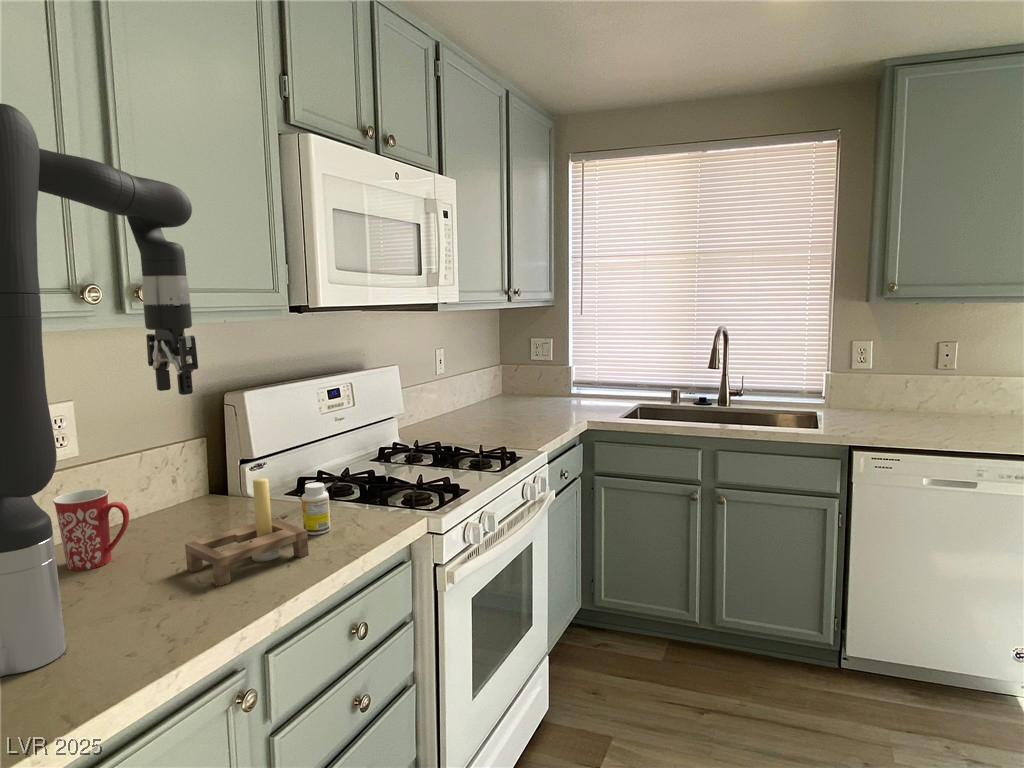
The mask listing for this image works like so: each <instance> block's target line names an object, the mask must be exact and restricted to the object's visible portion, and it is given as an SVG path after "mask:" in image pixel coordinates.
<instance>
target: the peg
mask: <svg viewBox="0 0 1024 768" xmlns="http://www.w3.org/2000/svg"><path fill="white" fill-rule="evenodd" d="M252 487H253V488H252V489H253V490H252V491H253V499H254V500H253V501H254V503H253V504H254V515H255V523H256V532H257V538H258V537H261V536H265V535H268V534H271V533H272V524H271V518H272V513H271V512H272V511H271V499H270V497H271V496H270V484H269V478H263V477H262V478H257V479H253V480H252ZM280 555H281V553H280V547H278V548H275V549H272V550H269V551H266V552H263V553H260V554H257V555H254V556H251V558H252V560H253V562H254V561H255V562H260V561H261V562H270V561H272V560H275V559H278V558H279V557H280Z"/></svg>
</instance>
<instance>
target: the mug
mask: <svg viewBox="0 0 1024 768" xmlns="http://www.w3.org/2000/svg"><path fill="white" fill-rule="evenodd" d="M108 496H109V490H107V489H104V488H94V489H93V488H91V489H82V490H76V491H72V492H69V493H68V492H66V493H63V494H61V495H59V496H57V497H54V499H53V500H52V503H53V504H54V506H55V513H56V516H57V521H58V527H59V531H60V532H59V533H60V538H61V542H62V547H63V553H64V557H65V564H66V568H67V570H69V569H71V570H70V571H73V570H81V571H86V570H85V569H88V570H93V569H96V567H97V568H99V566H100V567H103V566H105V565H106V564H108V563H109V562H111V560H112V551H113V550H114V549H115V547H116V546H117V544H118V543H119V542H120V540H121V539H122V538H123V536H124V534H125V533H126V530H127V528H128V525H129V522H130V513H129V512H130V511H129V509H128V507H127V505H125V504H124V503H123V502H120V501H114V502H110V503H109V500H108V498H109V497H108ZM113 508H117V509H118V510H119V511H120V512H121V514H122V524H121V527H120V530H119V532H118V533H117V535H116V536H115V538H114V539H113V541H111V532H110V530H111V529H110V516H109V515H110V511H111V510H112V509H113ZM104 564H105V565H104ZM92 568H93V569H92Z"/></svg>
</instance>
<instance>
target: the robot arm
mask: <svg viewBox="0 0 1024 768" xmlns="http://www.w3.org/2000/svg"><path fill="white" fill-rule="evenodd" d="M38 141H39V140H38V136H37V134H36V131H35V129H34V127H33V126H32V123H31V122H30V120H29V119H28V118H27V116H26V115H25V114H24V113H23V112H22V111H20V110H19V109H17V108H16V107H15V106H12V105H10V104H6V103H0V677H4V676H7V675H8V676H9V675H15V674H20V673H26V672H29V671H32V670H36V669H38V668H42V667H43V666H46V665H47V664H50V663H52V662H53V661H55V660H57V659H58V658H60V657H61V656H62V655H63V654H64V653H65V651H66V650H67V644H66V633H65V626H64V618H63V608H62V599H61V592H60V591H61V590H60V582H59V575H58V574H59V573H58V566H57V564H58V563H57V559H56V558H57V556H56V549H55V548H56V547H55V541H54V540H55V538H54V530H53V529H54V528H53V522H52V519H51V516H50V515H49V514H48V513H47V512H46V511H45V510H43V509H42V508H41V507H40V506H39V505H38V504H37V503H36V501H35V499H34V498H33V496H35V495H37V494H38V493H39V492H42V491H43V489H45V488H46V487H47V486H48V485H49V483H50V482H51V480H52V478H53V476H54V473H55V470H56V466H57V457H58V456H57V445H56V438H55V434H54V429H53V423H52V418H51V413H50V409H49V408H50V407H49V402H48V395H47V387H46V374H45V371H46V370H45V361H44V360H45V359H44V358H45V357H44V348H43V347H44V346H43V330H42V329H43V328H42V327H43V323H42V321H43V318H42V305H41V304H42V303H41V302H42V301H41V289H40V288H41V287H40V280H39V269H38V268H39V267H38V263H39V262H38V261H39V260H38V259H39V258H38V228H37V227H38V226H37V218H38V217H37V216H38V214H37V213H38V198H39V192H41V193H44V194H49V195H52V196H56V197H60V198H63V199H66V200H70V201H72V202H73V201H74V202H75V203H79V204H83V205H86V206H88V207H91V208H94V209H98V210H100V211H104V212H107V213H109V214H113V215H115V216H116V215H117V216H122V217H123V216H124V217H126V220H127V222H128V225H129V228H130V231H131V232H132V235H133V239H134V241H135V243H136V246H137V248H138V251H139V255H140V261H141V262H140V267H141V273H142V282H141V283H142V285H141V293H142V304H143V305H142V306H143V316H144V317H143V318H144V325H145V326H144V327H145V329H146V330H150V331H154V333H147V334H146V336H145V337H146V349H147V363H148V367H152V369H153V371H155V372H154V373H155V382H156V383H155V384H156V390H157V391H159V392H160V391H161V392H163V391H170V390H171V387H172V386H171V385H172V384H171V375H170V370H169V368H170V364H171V365H173V366H174V367H175V370H176V372H177V373H176V378H177V379H176V380H177V389H178V394H179V395H182V396H186V395H191V394H193V392H194V389H193V378H192V377H193V376H192V373H193V372H194V371H195V370H198V369H199V361H198V352H197V343H196V338H195V337H196V336H195V335H186V334H185V329H190V328H192V327H193V320H192V319H193V318H192V309H191V308H192V307H191V306H192V305H191V295H190V288H189V283H188V279H187V265H186V257H185V256H186V255H185V250H184V247H183V246H182V245H181V244H180V243H177V242H175V241H174V242H173V241H168V240H167V239H166V237H165V236H164V233H163V231H162V229H164V228H166V229H167V228H169V229H170V228H179V227H181V226H184V225H185V224H186V223H187V222H189V220H190V218H191V216H192V214H193V206H192V203H191V200H190V198H189V197H188V195H187V194H186V193H185V192H184V191H183V190H182V189H181V188H179V187H177V186H176V185H174V184H170V183H169V182H165V181H161V180H155V179H151V178H146V177H140V176H136V175H132V174H130V173H128V172H127V171H126V172H125V171H124V170H122V169H119V168H116V167H114V166H111V165H108V164H106V163H103V162H100V161H97V160H93V159H90V158H86V157H81V156H78V155H72V154H67V153H61V152H57V151H51V150H48V149H44V148H40V146H39V142H38Z"/></svg>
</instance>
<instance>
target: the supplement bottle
mask: <svg viewBox="0 0 1024 768" xmlns="http://www.w3.org/2000/svg"><path fill="white" fill-rule="evenodd" d="M325 490H326V488H325V484H324V483H323V482H319V481H318V482H310V483H306V484H305V486H304V492H305V493H303V494H302V495H301V505H302V509H301V510H302V521H303V529H305V530H307V535H310V536H317V535H322V534H326V533H328V532H329V531H330V530H331V511H330V496H329V492H328V491H325Z"/></svg>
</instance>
